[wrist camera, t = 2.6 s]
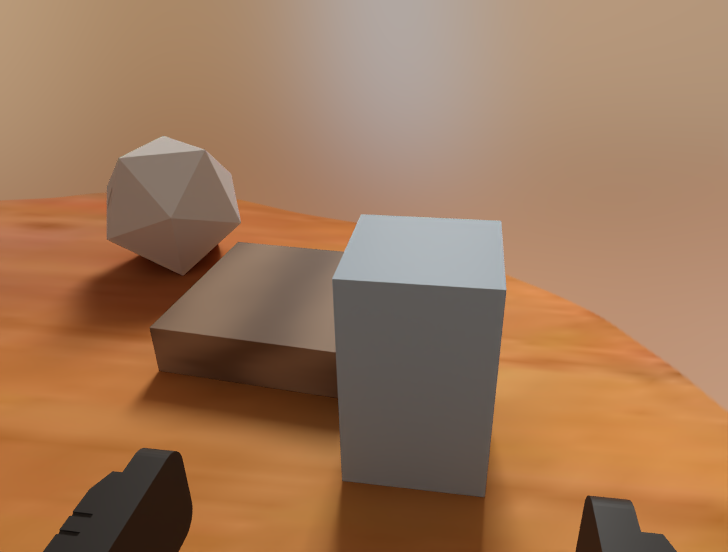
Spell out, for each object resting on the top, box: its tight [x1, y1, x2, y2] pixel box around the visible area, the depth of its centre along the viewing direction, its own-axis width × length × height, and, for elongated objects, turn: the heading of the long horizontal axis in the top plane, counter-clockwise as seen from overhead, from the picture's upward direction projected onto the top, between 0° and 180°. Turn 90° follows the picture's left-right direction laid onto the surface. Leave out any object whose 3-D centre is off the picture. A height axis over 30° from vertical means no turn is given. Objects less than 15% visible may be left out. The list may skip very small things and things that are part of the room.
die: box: [107, 136, 241, 276], centre depth 40 cm, size 8×9×10 cm
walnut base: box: [150, 242, 344, 398], centre depth 33 cm, size 10×10×3 cm
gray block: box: [332, 214, 506, 497], centre depth 24 cm, size 6×6×9 cm
